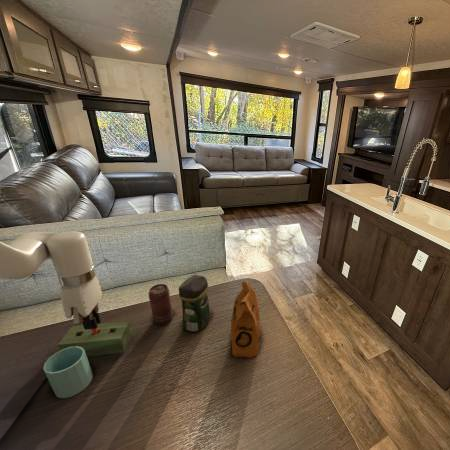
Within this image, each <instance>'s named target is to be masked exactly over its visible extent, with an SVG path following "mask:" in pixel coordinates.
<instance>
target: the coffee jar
mask: <svg viewBox="0 0 450 450" xmlns="http://www.w3.org/2000/svg"><path fill="white" fill-rule="evenodd" d="M208 291H209V283H208V279H207V278H206V277H205V276H203V275H199V274H193V275H191V276H189V277H188V278H187V279H185V280H184V281H183V282H182V283H181V284H180V285H179V287H178V297H179V298H180V300H181V308H182V323H183V324H182V325H183V328H184V330H185V331H188V332H199V331H202V330H203V329H204V328H205V327H206V326H207V324H208V323H209V321H210V319H211V317H212V316H211V308H210V301H209V293H208Z"/></svg>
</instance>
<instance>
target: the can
mask: <svg viewBox="0 0 450 450" xmlns="http://www.w3.org/2000/svg"><path fill="white" fill-rule="evenodd" d="M169 288H170V287H169V286H168V285H167V284H164V283H158V284H155V285H153V286H151V287H150V289H149V292H148V299H149V303H150V308H151V314H152V318H153V323H154V324H155V325H157V326H165V325H168V324H169V323H170V322H171V321H172V319H173V318H174V314H173V307H172V301H171V296H170V295H171V294H170V293H171V292H170V289H169Z"/></svg>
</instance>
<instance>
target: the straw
mask: <svg viewBox="0 0 450 450" xmlns="http://www.w3.org/2000/svg"><path fill="white" fill-rule="evenodd" d="M91 312H92V311H91ZM92 315H93V314H92ZM91 330H92V333H93V335H95V334H98V331H97V329H91Z"/></svg>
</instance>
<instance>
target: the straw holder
mask: <svg viewBox="0 0 450 450" xmlns="http://www.w3.org/2000/svg"><path fill="white" fill-rule="evenodd" d="M97 325H98V327H97V331H98V334H95V335H93V333H92V330H91V329H87V330H85V329H84V326H83V324H82V325H74V326H73V325H72V326H71V327H70V328H69V330H68V331H67V333H65V335H64V336H63V337H62V339H61V340H60V341H59V342H58V343H57V347H58V349H59V351H60V350H62V349H65V348H68V347H74V346H78V347H82V348H83V349H84V350H85V353H86V356H87V358H88V357H96V356H104V355H113V354H120V353H125V352H126V349H127V348H128V345H129V344H130V341H131V339H132V336H133V335H134V334H133V330H132V327H131V326H132V325H131V322H130V320H127V321H117V322H116V321H115V322H105V323H100V324H97Z"/></svg>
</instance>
